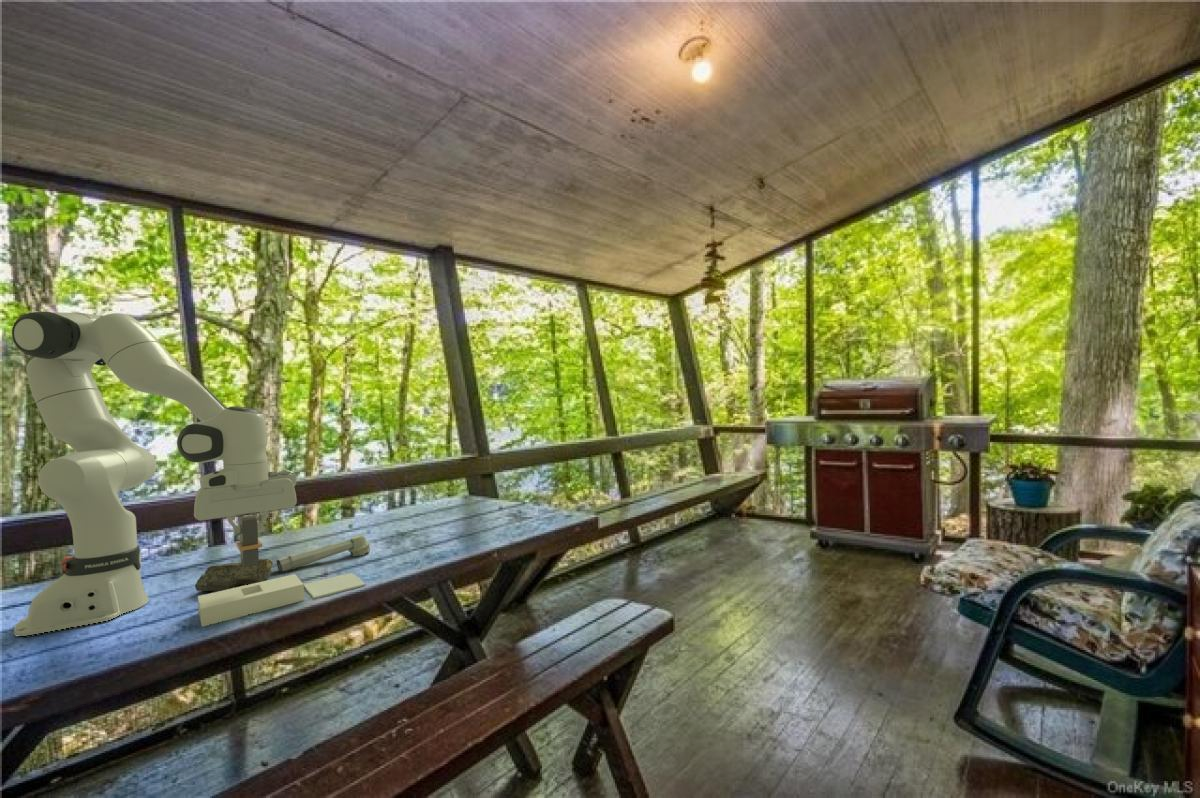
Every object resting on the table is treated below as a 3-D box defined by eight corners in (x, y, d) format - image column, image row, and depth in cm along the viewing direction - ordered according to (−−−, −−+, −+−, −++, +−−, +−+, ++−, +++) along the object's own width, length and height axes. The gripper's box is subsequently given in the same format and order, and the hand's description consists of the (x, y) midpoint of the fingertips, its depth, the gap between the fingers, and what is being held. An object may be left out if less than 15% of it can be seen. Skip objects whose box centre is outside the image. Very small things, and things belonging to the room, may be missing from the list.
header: (201, 626, 114) (200, 608, 114) (198, 613, 121) (197, 596, 121) (304, 600, 127) (303, 584, 127) (295, 589, 135) (295, 574, 134)
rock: (271, 556, 149) (274, 555, 141) (272, 581, 147) (274, 581, 139) (196, 568, 139) (194, 567, 131) (195, 594, 137) (194, 595, 129)
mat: (314, 599, 128) (314, 597, 128) (303, 586, 137) (303, 584, 137) (365, 585, 135) (365, 583, 135) (352, 574, 144) (352, 572, 144)
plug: (240, 569, 120) (238, 522, 120) (236, 562, 125) (235, 517, 125) (262, 564, 123) (261, 518, 123) (258, 558, 128) (257, 514, 128)
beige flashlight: (275, 557, 151) (364, 528, 166) (279, 579, 151) (368, 548, 167) (278, 561, 147) (369, 531, 162) (283, 583, 147) (373, 551, 163)
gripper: (293, 468, 133) (295, 521, 133) (192, 478, 120) (194, 538, 120) (298, 470, 128) (300, 526, 128) (193, 481, 115) (196, 543, 115)
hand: (248, 532), depth 124 cm, fingers closed on plug, 3 cm apart
